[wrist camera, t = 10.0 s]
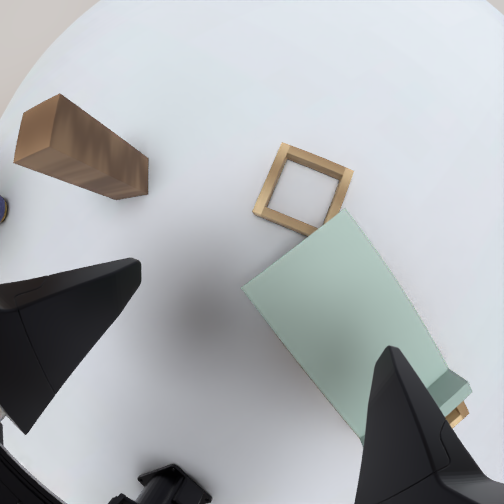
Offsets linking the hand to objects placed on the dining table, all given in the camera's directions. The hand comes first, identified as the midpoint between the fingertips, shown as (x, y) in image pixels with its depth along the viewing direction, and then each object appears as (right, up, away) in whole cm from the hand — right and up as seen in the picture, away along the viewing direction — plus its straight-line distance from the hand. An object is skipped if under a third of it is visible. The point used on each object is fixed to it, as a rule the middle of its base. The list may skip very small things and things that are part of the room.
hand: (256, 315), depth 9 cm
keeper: (+4, +7, +14) cm, 16 cm away
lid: (+7, -4, +10) cm, 13 cm away
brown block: (-11, +9, +16) cm, 21 cm away
